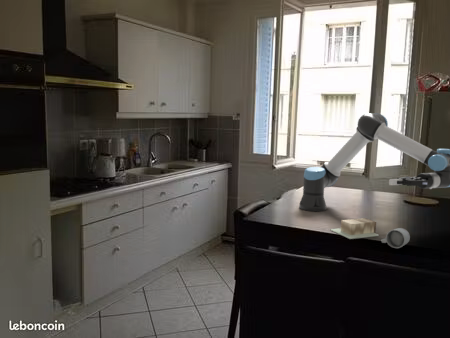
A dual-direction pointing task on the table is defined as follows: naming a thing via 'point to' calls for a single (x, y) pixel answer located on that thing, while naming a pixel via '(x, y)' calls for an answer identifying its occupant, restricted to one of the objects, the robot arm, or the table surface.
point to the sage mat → (353, 235)
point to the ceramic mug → (397, 238)
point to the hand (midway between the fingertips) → (390, 182)
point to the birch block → (358, 226)
